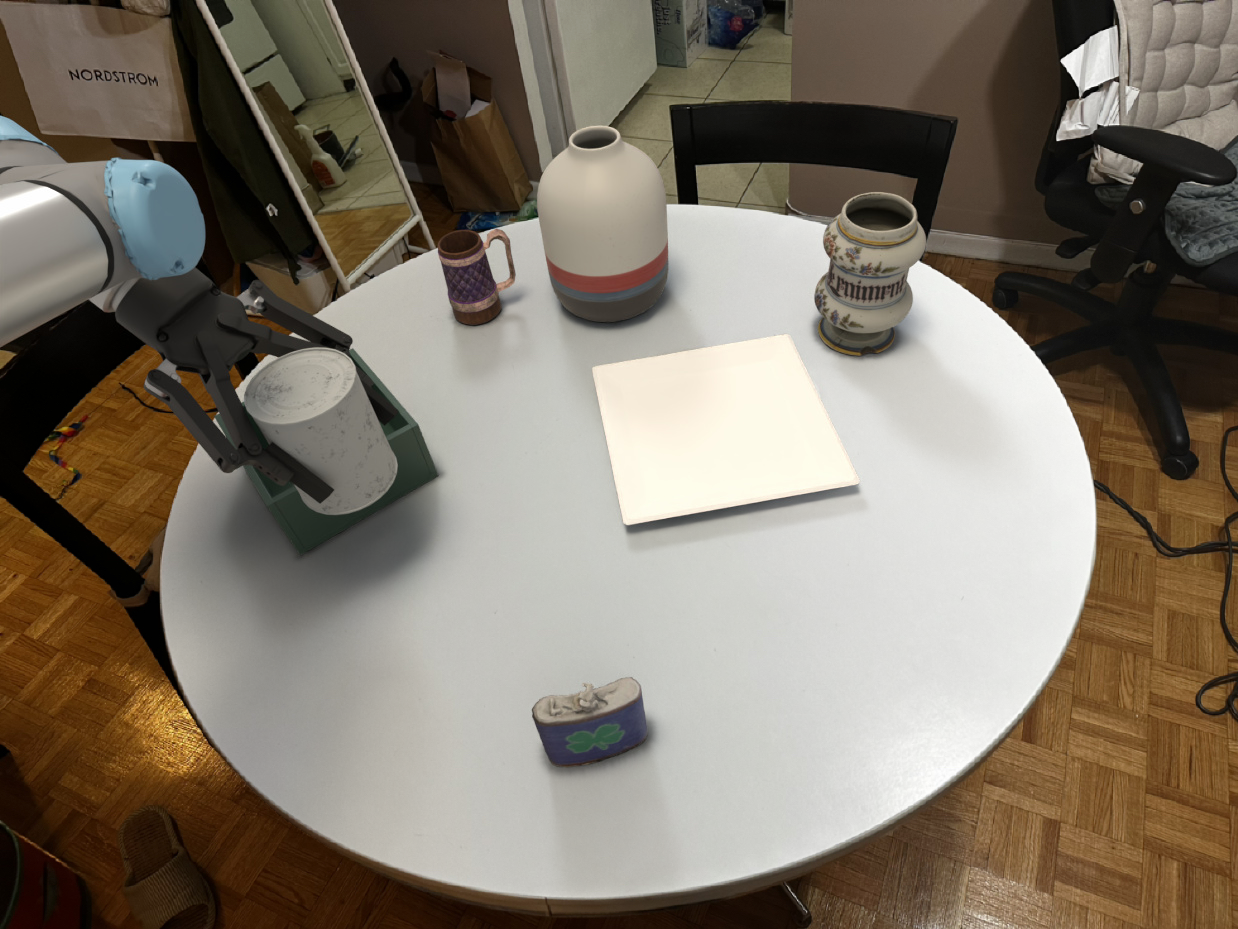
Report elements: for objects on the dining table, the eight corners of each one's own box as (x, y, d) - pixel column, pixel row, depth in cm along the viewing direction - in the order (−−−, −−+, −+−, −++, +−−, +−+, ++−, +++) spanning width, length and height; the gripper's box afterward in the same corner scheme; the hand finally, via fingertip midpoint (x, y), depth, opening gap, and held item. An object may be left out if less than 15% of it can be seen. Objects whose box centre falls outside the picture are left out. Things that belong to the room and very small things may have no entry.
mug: (456, 331, 111) (434, 258, 102) (451, 301, 116) (430, 230, 107) (526, 316, 112) (511, 243, 103) (519, 287, 117) (504, 215, 108)
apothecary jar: (832, 370, 99) (852, 248, 86) (796, 314, 107) (809, 194, 94) (921, 350, 100) (954, 225, 87) (878, 296, 108) (903, 174, 95)
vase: (679, 265, 117) (675, 107, 99) (657, 337, 106) (648, 175, 89) (571, 258, 120) (548, 104, 103) (539, 327, 110) (507, 169, 92)
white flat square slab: (625, 535, 85) (623, 524, 83) (593, 377, 102) (591, 365, 101) (858, 494, 86) (861, 482, 84) (787, 344, 103) (789, 331, 102)
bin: (300, 555, 87) (266, 506, 80) (247, 466, 97) (213, 415, 90) (438, 475, 93) (418, 424, 86) (375, 399, 103) (352, 347, 96)
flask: (644, 717, 71) (636, 662, 63) (652, 748, 69) (645, 695, 61) (544, 742, 70) (524, 690, 62) (550, 774, 68) (529, 725, 60)
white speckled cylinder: (342, 430, 81) (296, 337, 71) (417, 456, 77) (378, 362, 68) (279, 496, 75) (219, 405, 66) (356, 528, 72) (304, 436, 63)
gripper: (225, 235, 75) (410, 391, 81) (33, 388, 62) (272, 558, 69) (243, 191, 69) (440, 363, 76) (36, 349, 56) (296, 539, 63)
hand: (360, 456), depth 72 cm, fingers closed on white speckled cylinder, 9 cm apart
